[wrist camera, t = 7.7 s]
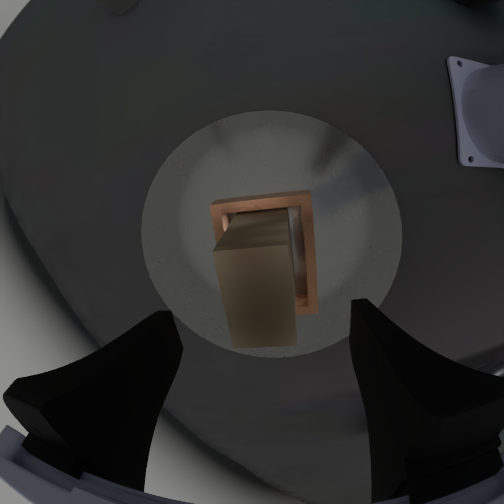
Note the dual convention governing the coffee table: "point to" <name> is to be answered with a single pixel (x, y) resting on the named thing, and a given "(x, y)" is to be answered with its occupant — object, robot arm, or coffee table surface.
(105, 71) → the coffee table surface
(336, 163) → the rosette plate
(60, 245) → the coffee table surface
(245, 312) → the wood grain block
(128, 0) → the lighter
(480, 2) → the coffee cup
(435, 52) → the coffee table surface
